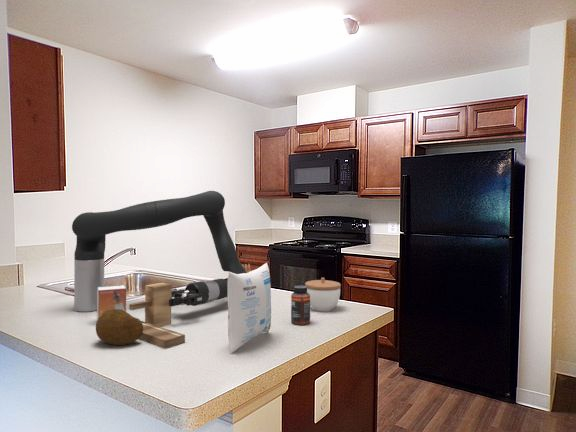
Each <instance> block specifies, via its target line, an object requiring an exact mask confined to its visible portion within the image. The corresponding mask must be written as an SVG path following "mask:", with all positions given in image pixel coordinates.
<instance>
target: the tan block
mask: <svg viewBox="0 0 576 432" xmlns="http://www.w3.org/2000/svg"><path fill="white" fill-rule="evenodd" d="M144 288H145V290H144V291H145V292H144V296H145V297H144V301H138V302H134V303H129V305H128V306H129V311H135V310H140V309H144V311H145V312H144V322H146V323H150V324H153V325H156V326H159V327H164V326H169V325H171V324H172V307H171V306H169V300H170V299H171V289H172V283H171V284H170V283H167V282H166V283H165V282H158V283H151V284H147V285H145V287H144Z"/></svg>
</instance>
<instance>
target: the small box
mask: <svg viewBox="0 0 576 432" xmlns="http://www.w3.org/2000/svg"><path fill="white" fill-rule="evenodd" d="M112 309H120V310H123V311H125V312H127V288H126V285H124V284H123V285H113V286H111V285H110V286H104V287H98V289H97V310H96V322H97V321H98V319H99V317H100V316H101V315H102V314H103V313H104V312H105V311H108V310H112Z"/></svg>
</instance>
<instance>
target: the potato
mask: <svg viewBox="0 0 576 432" xmlns="http://www.w3.org/2000/svg"><path fill="white" fill-rule="evenodd" d="M141 321H142V320H141V319H139V318H138V317H135V316H133V315H132V314H130V313H128V312H127V311H126V312H125V311H123V310H120V309H112V310H108V311H105V312H104V313H103V314H102V315H101V316H100V317H99V319H98V321H97V320H96V323H95V333H96V336H97V337H98V338H99V340H101V341H102V342H103V343H105V344H109V345H112V346H126V345H129V344H130V345H131V344H132V343H135V342H136V341H137V340H139V339H138V338H139V337H140V336H141V335H142V332H143V325H142V322H141Z"/></svg>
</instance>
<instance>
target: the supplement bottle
mask: <svg viewBox="0 0 576 432" xmlns="http://www.w3.org/2000/svg"><path fill="white" fill-rule="evenodd" d="M293 290H294V291H293V292H292V293H291V296H290V299H291V300H290V304H291V305H290V307H291V309H290V321H291V323H292V324H294V325H297V326H304V325H308V324H309V323H311V306H310V294H309V293H307V286H305V285H295V286H294V289H293Z"/></svg>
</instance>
